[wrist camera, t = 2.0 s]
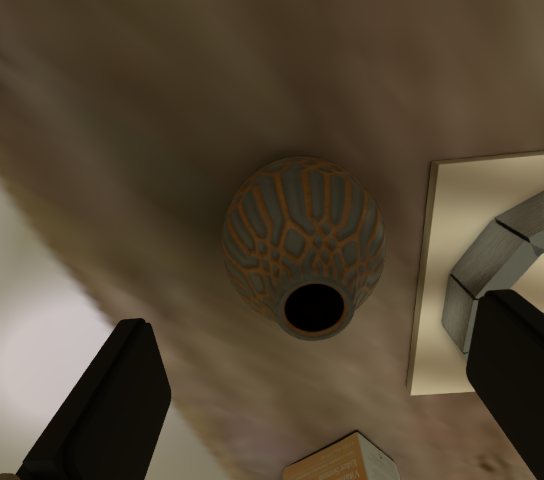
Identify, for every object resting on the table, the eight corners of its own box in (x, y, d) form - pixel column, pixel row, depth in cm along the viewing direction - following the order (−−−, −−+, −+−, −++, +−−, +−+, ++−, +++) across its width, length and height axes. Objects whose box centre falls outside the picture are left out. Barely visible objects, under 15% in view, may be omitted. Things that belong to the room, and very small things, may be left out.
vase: (386, 204, 17) (482, 301, 9) (299, 286, 20) (316, 421, 12) (291, 114, 15) (311, 141, 8) (206, 216, 18) (152, 320, 10)
